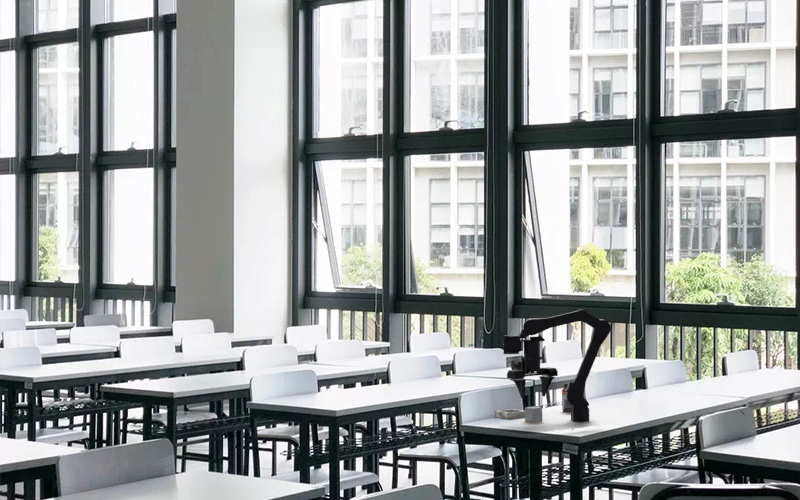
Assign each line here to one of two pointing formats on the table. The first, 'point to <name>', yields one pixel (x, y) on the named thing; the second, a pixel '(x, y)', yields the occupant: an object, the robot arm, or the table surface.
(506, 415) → the rack board
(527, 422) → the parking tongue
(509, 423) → the table surface
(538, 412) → the grey angular block
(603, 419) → the table surface
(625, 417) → the table surface
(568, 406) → the supplement bottle
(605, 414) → the table surface
